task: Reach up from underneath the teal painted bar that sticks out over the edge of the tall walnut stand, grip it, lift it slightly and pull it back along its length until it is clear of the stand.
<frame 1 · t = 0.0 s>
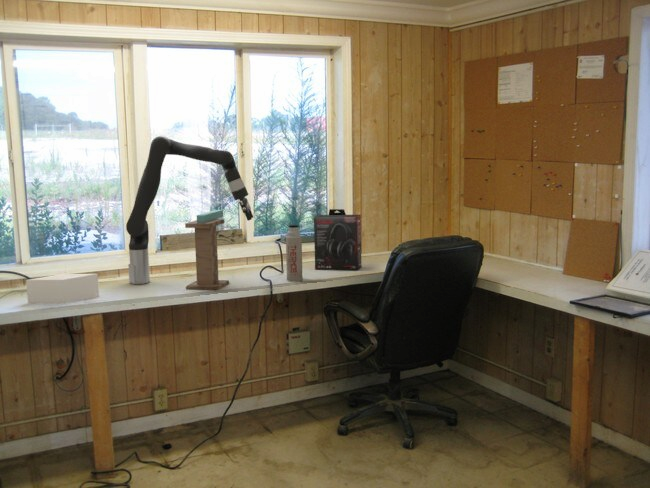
hand: (250, 219, 328), 31 cm above the table, tool tilted 20°, fingers open, 8 cm apart
headset box: (338, 268, 363), on the table
thermos bottle: (294, 280, 333), on the table
teal bar: (210, 219, 323), point 32 cm above the table, touching walnut stand
walnut stand: (207, 286, 321), on the table
block: (64, 300, 297), on the table
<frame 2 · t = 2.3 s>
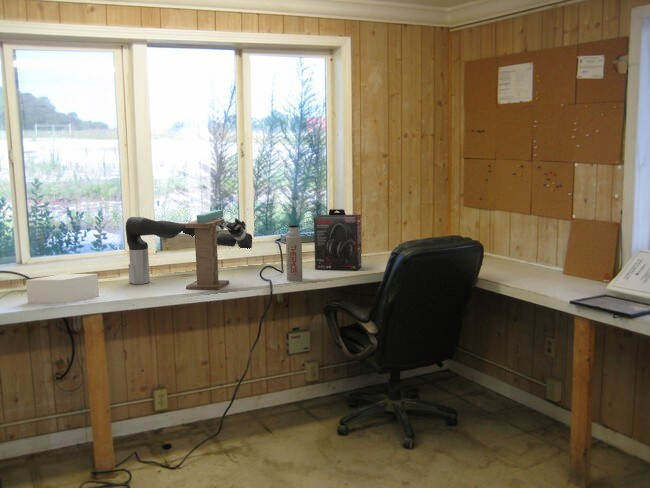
hand: (227, 219, 345), 29 cm above the table, tool pointing upward, fingers open, 8 cm apart
nothing on the table moved.
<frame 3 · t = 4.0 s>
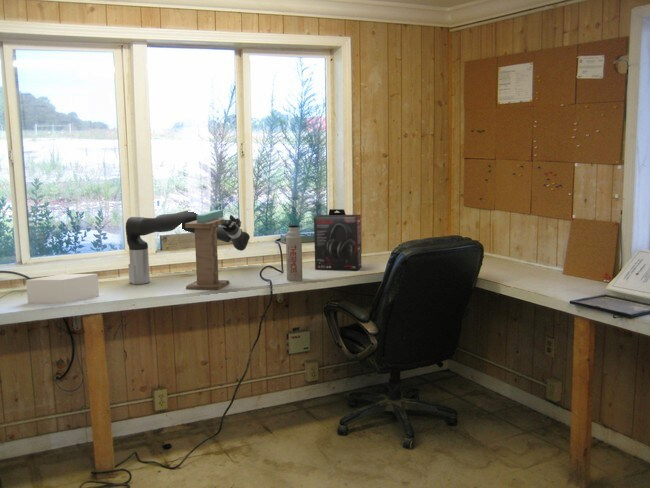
hand: (222, 216, 337), 32 cm above the table, tool pointing upward, fingers open, 8 cm apart
nothing on the table moved.
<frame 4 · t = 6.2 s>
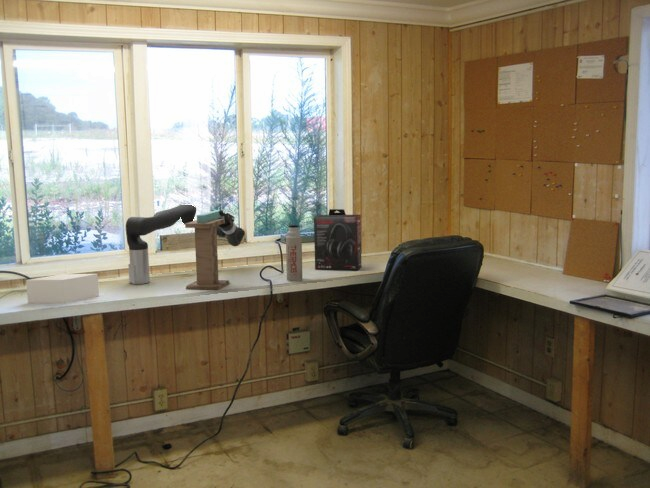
hand: (216, 211, 330), 35 cm above the table, tool pointing upward, fingers closed on teal bar, 3 cm apart
teal bar: (210, 219, 323), point 32 cm above the table, touching gripper, walnut stand
everything else where it was.
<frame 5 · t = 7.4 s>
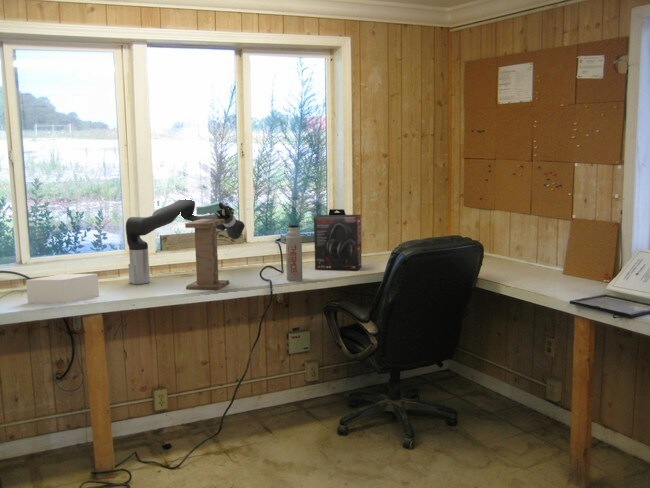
hand: (215, 203, 329), 39 cm above the table, tool pointing upward, fingers closed on teal bar, 3 cm apart
teal bar: (210, 211, 322), point 36 cm above the table, touching gripper
everything else where it was.
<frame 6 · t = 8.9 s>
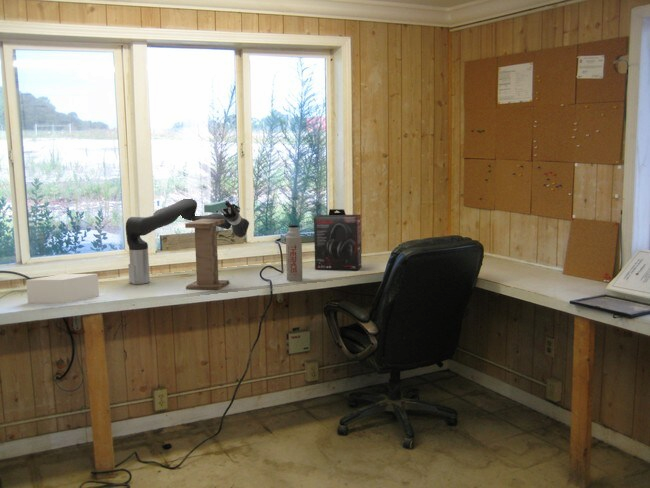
hand: (222, 202, 338), 39 cm above the table, tool pointing upward, fingers closed on teal bar, 3 cm apart
teal bar: (217, 209, 331), point 36 cm above the table, touching gripper
everything else where it was.
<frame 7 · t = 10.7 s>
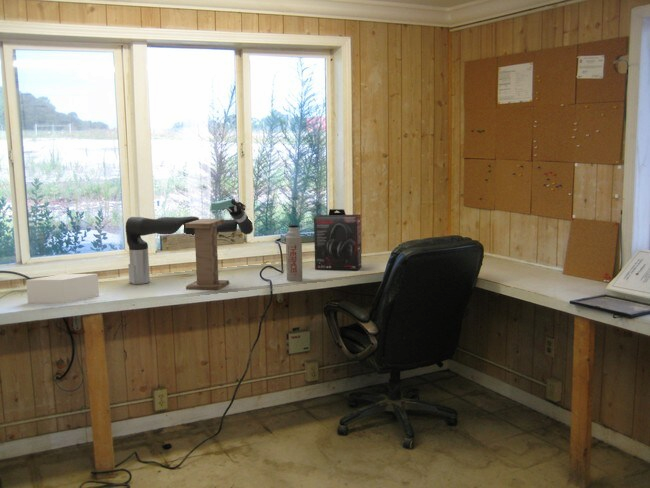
hand: (228, 200, 347), 39 cm above the table, tool pointing upward, fingers closed on teal bar, 3 cm apart
teal bar: (223, 207, 340), point 36 cm above the table, touching gripper
everything else where it was.
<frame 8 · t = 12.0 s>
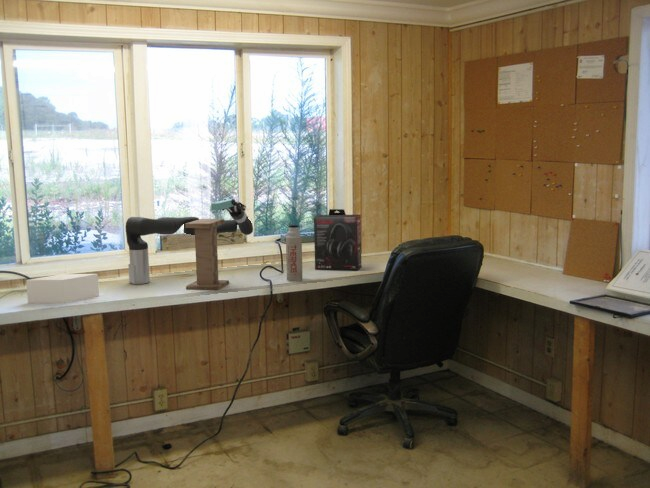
hand: (228, 200, 347), 39 cm above the table, tool pointing upward, fingers closed on teal bar, 3 cm apart
teal bar: (223, 208, 340), point 36 cm above the table, touching gripper
everything else where it was.
at the end: the gripper is holding teal bar; teal bar moved 18.4 cm from its start; teal bar point 36.0 cm above the table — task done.
